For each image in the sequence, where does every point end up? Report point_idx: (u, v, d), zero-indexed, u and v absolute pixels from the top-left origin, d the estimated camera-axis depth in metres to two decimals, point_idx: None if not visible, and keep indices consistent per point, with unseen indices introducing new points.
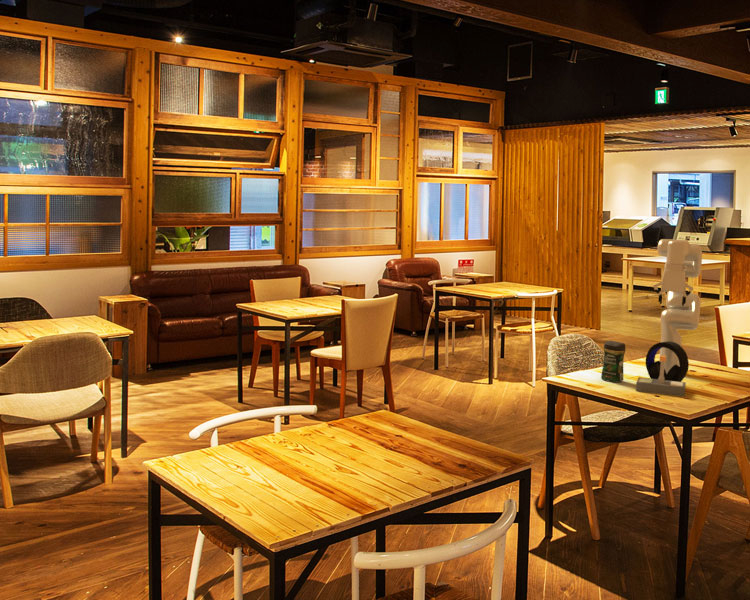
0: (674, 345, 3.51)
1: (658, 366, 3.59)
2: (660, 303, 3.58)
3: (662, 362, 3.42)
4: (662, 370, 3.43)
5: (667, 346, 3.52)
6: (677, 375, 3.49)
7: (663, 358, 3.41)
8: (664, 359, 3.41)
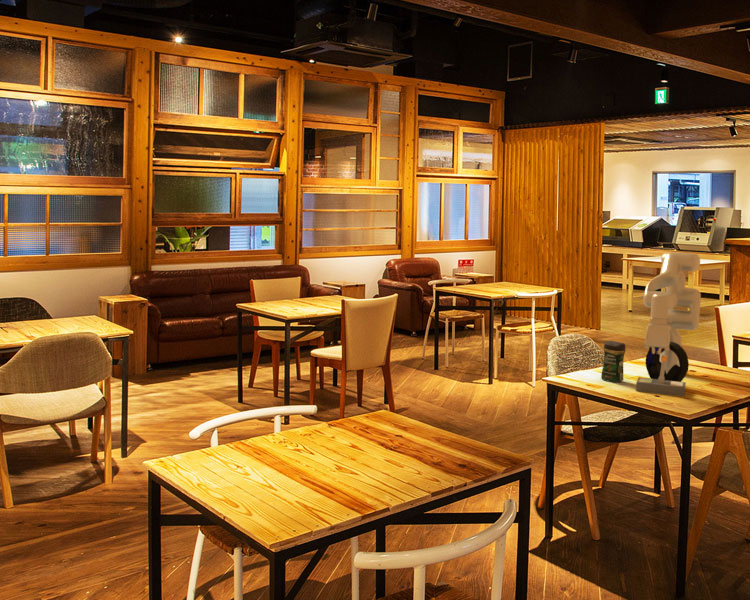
0: (674, 345, 3.51)
1: (658, 366, 3.59)
2: (654, 362, 3.43)
3: (663, 362, 3.42)
4: (663, 370, 3.43)
5: None
6: (677, 375, 3.49)
7: (664, 358, 3.41)
8: (665, 359, 3.41)
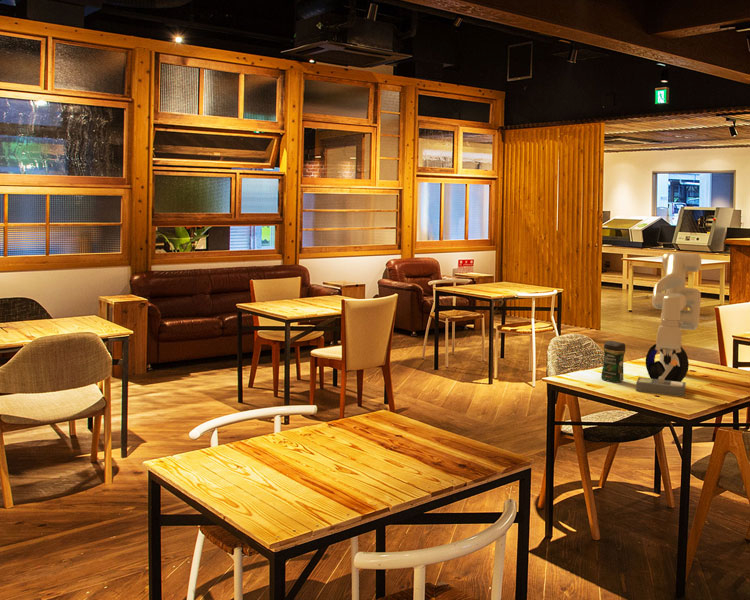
0: None
1: (658, 366, 3.59)
2: (665, 364, 3.41)
3: (671, 365, 3.41)
4: (667, 372, 3.42)
5: None
6: (677, 375, 3.49)
7: (674, 362, 3.40)
8: (675, 364, 3.40)
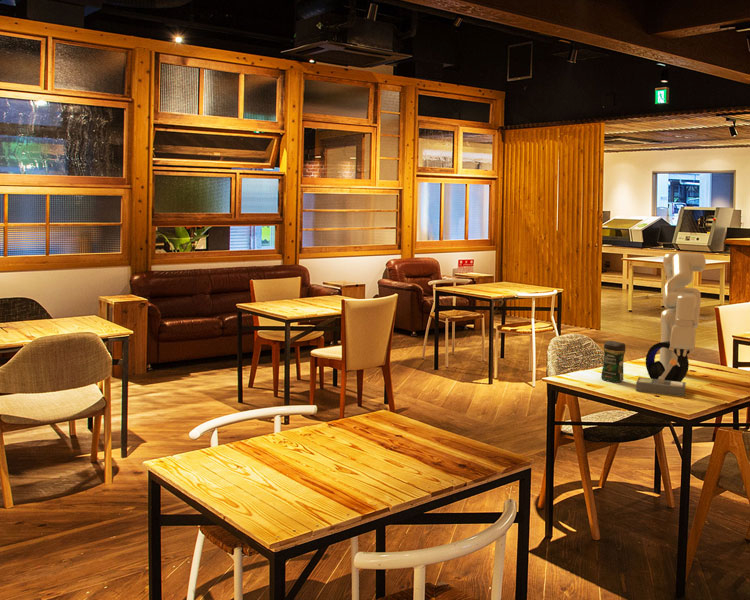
0: None
1: (658, 366, 3.59)
2: (679, 364, 3.39)
3: (671, 365, 3.41)
4: (667, 372, 3.42)
5: (667, 346, 3.52)
6: (677, 375, 3.49)
7: (674, 362, 3.40)
8: (674, 363, 3.40)
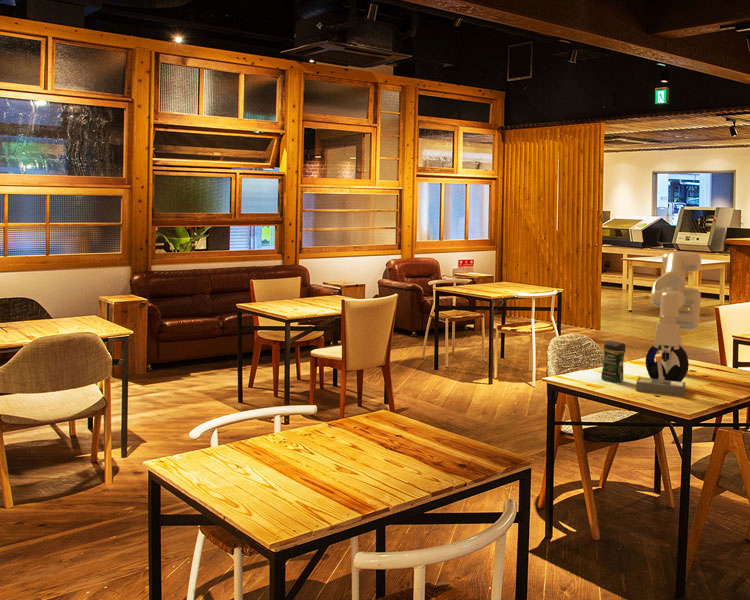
0: None
1: None
2: (663, 361, 3.40)
3: (658, 362, 3.43)
4: (660, 370, 3.43)
5: (667, 346, 3.52)
6: (677, 375, 3.49)
7: (659, 358, 3.42)
8: (660, 359, 3.42)
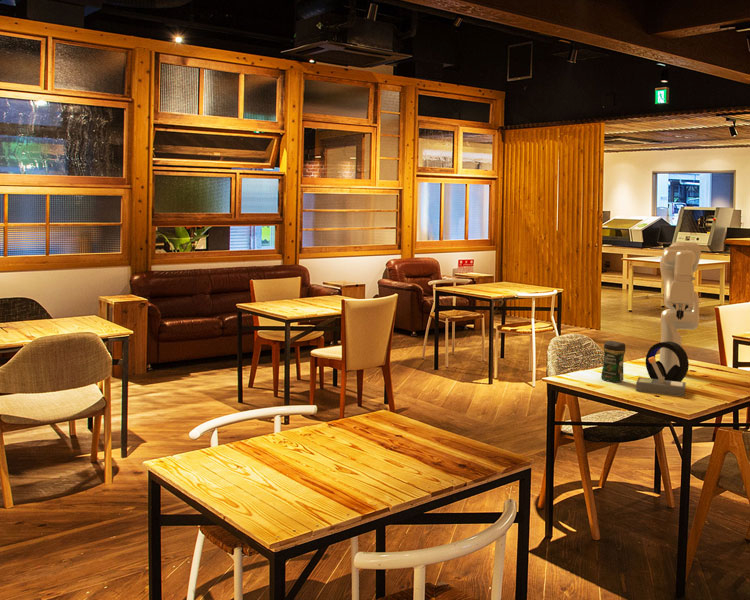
0: (674, 345, 3.51)
1: (658, 366, 3.59)
2: (678, 318, 3.50)
3: (653, 363, 3.44)
4: (657, 370, 3.44)
5: (667, 346, 3.52)
6: (677, 375, 3.49)
7: (652, 359, 3.43)
8: (653, 360, 3.43)
